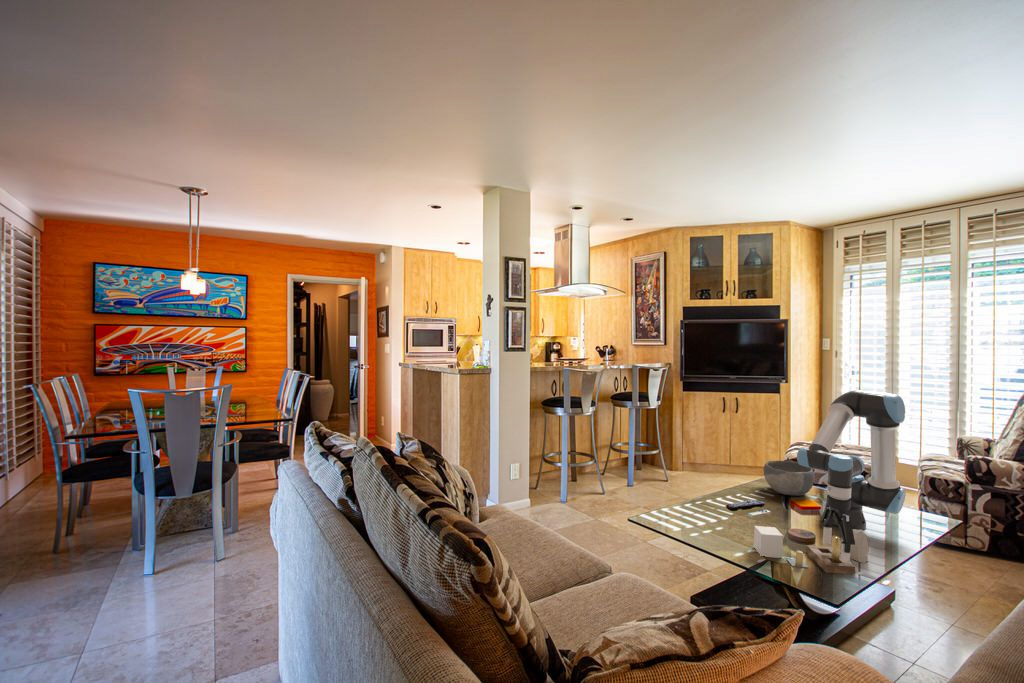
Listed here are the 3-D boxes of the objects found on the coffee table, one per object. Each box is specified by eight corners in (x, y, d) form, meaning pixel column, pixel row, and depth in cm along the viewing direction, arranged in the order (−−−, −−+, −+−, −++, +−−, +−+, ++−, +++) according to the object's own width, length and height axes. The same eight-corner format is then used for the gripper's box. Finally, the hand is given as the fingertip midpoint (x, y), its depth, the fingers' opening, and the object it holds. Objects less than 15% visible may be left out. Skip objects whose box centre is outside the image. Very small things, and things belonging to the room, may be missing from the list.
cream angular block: (801, 561, 194) (802, 547, 194) (808, 568, 189) (809, 554, 189) (786, 559, 195) (787, 546, 195) (792, 566, 190) (793, 552, 189)
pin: (836, 567, 190) (838, 536, 190) (840, 570, 188) (841, 538, 187) (829, 566, 191) (830, 535, 190) (832, 569, 188) (834, 538, 188)
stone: (837, 552, 202) (838, 524, 202) (846, 551, 204) (848, 523, 204) (862, 564, 193) (863, 535, 192) (872, 562, 194) (873, 533, 194)
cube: (774, 548, 204) (775, 527, 204) (781, 558, 196) (783, 535, 196) (753, 547, 205) (754, 525, 205) (760, 556, 197) (761, 534, 197)
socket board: (806, 552, 202) (806, 545, 202) (833, 554, 200) (833, 547, 200) (825, 572, 186) (826, 564, 186) (854, 574, 185) (855, 566, 184)
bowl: (771, 498, 263) (772, 470, 262) (756, 483, 287) (757, 458, 286) (821, 502, 259) (823, 474, 258) (802, 487, 283) (804, 461, 282)
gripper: (812, 485, 201) (810, 536, 202) (845, 508, 176) (842, 567, 177) (832, 486, 200) (830, 538, 201) (868, 509, 175) (865, 569, 176)
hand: (835, 551), depth 189 cm, fingers open, 13 cm apart
